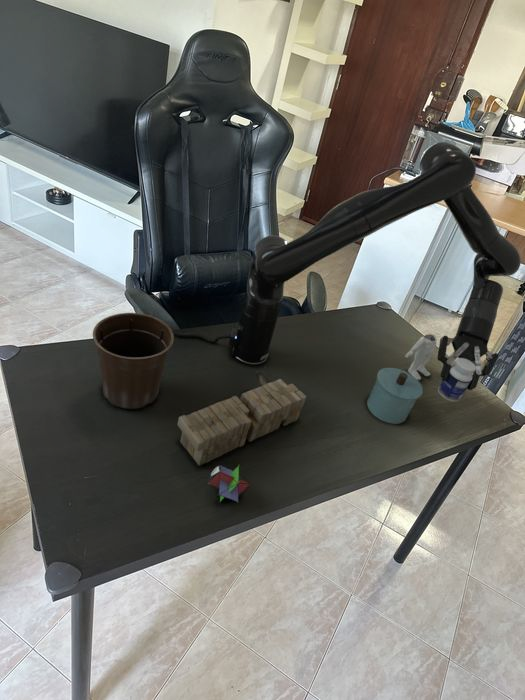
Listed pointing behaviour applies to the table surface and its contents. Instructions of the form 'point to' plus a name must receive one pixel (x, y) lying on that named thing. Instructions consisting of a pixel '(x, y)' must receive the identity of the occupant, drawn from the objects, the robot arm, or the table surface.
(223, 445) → the block tower
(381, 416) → the pot
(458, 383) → the pill bottle
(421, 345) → the toy creature
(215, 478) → the geometric puzzle
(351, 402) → the table surface
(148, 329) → the plant pot
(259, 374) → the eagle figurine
